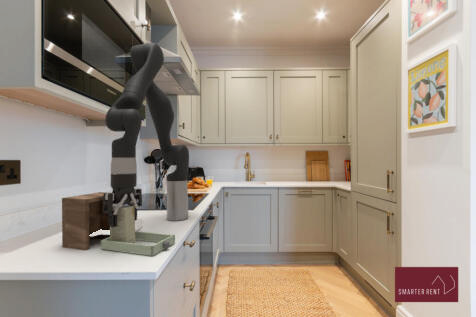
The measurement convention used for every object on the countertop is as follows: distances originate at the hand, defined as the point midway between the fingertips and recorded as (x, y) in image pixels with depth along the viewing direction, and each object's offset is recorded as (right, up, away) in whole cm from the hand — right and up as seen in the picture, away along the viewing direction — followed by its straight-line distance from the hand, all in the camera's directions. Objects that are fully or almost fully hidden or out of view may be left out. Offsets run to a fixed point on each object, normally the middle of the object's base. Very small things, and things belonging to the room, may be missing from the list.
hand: (123, 223), depth 81 cm
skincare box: (0, -7, 0) cm, 7 cm away
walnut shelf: (-12, -7, +4) cm, 14 cm away
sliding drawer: (+6, -6, -2) cm, 9 cm away
